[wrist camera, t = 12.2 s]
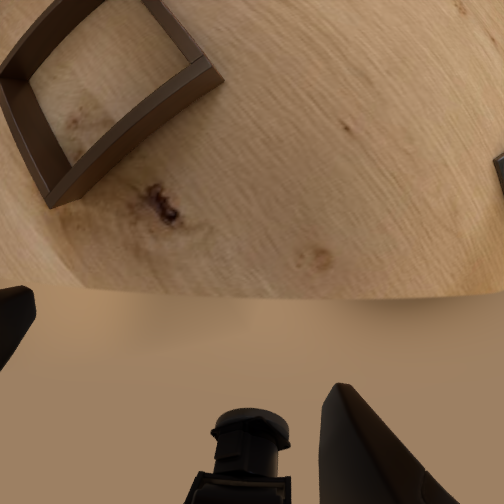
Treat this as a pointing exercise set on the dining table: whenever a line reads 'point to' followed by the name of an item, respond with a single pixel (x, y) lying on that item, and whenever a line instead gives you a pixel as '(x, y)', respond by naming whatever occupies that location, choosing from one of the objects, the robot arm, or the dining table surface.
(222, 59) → the dining table surface
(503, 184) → the coaster
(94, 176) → the tray
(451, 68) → the dining table surface
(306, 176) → the dining table surface
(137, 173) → the dining table surface
